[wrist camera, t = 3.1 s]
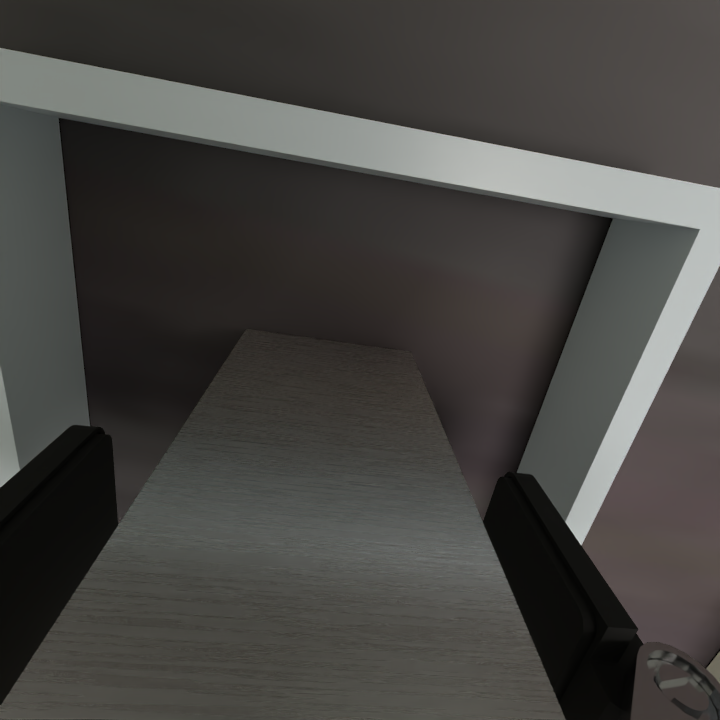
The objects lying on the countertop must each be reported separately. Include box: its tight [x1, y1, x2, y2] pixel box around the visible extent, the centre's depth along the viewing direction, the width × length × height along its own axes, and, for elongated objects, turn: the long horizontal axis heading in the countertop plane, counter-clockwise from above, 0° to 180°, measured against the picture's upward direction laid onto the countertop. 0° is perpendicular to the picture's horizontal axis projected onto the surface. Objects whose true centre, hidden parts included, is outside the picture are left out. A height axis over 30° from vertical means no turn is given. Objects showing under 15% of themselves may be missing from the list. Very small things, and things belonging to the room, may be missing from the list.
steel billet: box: [0, 329, 566, 720], centre depth 9 cm, size 5×5×10 cm
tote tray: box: [0, 48, 720, 545], centre depth 12 cm, size 16×16×3 cm
